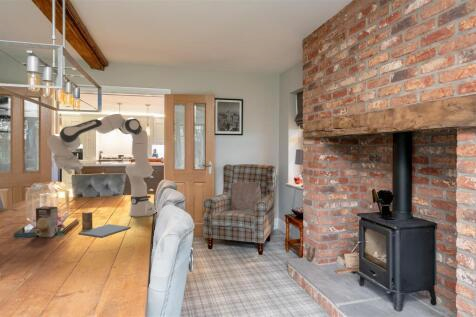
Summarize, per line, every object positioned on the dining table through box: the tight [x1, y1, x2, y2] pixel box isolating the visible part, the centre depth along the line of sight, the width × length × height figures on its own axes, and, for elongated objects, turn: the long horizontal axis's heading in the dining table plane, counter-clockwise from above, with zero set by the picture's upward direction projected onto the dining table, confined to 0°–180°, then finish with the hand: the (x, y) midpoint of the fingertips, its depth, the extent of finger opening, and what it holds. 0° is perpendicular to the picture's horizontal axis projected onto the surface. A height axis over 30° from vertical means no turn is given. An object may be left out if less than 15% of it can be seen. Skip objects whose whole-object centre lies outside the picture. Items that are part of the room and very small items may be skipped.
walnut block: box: [81, 211, 94, 231], centre depth 187 cm, size 4×4×10 cm
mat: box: [78, 223, 131, 238], centre depth 182 cm, size 22×18×1 cm
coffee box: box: [35, 206, 59, 238], centre depth 172 cm, size 9×6×16 cm
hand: (75, 173), depth 191 cm, fingers open, 8 cm apart
